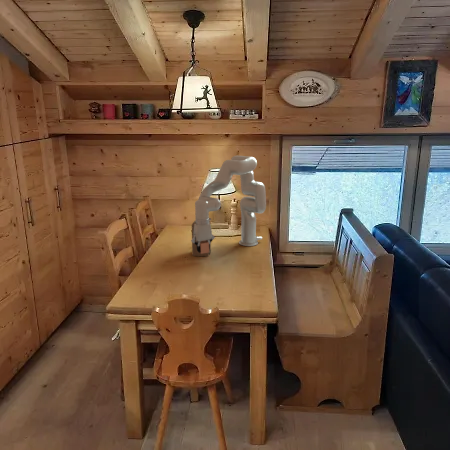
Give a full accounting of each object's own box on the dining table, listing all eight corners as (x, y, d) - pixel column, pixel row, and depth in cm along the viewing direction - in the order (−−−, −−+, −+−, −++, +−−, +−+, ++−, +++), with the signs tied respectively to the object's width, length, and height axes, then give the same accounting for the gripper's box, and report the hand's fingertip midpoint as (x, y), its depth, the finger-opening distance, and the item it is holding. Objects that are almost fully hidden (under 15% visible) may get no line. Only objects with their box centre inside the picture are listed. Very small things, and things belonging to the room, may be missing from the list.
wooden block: (210, 251, 264) (210, 220, 258) (208, 256, 254) (208, 224, 249) (195, 250, 265) (194, 220, 259) (192, 256, 255) (191, 224, 250)
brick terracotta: (205, 249, 248) (205, 240, 247) (209, 252, 244) (208, 242, 242) (197, 251, 246) (197, 241, 244) (201, 253, 242) (200, 244, 240)
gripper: (212, 217, 247) (213, 246, 252) (186, 221, 239) (187, 251, 244) (218, 220, 240) (219, 250, 245) (191, 225, 233) (192, 255, 238)
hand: (203, 250), depth 245 cm, fingers closed on brick terracotta, 5 cm apart
